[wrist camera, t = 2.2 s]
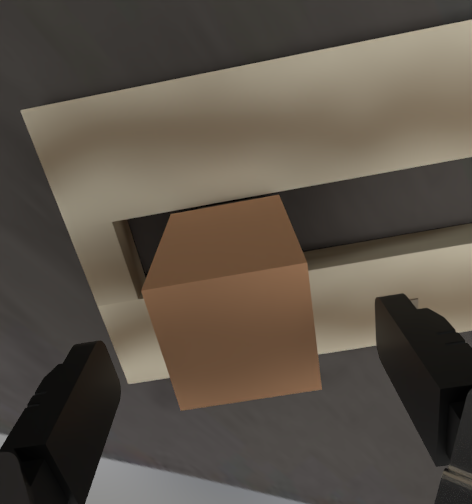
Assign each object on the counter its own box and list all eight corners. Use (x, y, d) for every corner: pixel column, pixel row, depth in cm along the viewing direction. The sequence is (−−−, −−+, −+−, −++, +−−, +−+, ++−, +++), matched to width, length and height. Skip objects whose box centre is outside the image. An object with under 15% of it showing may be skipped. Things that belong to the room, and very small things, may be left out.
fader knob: (178, 194, 18) (141, 290, 10) (271, 177, 18) (307, 262, 10) (199, 276, 20) (180, 410, 12) (283, 261, 20) (321, 389, 12)
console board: (42, 105, 17) (18, 110, 15) (789, -45, 15) (872, -61, 13) (136, 358, 23) (128, 385, 21) (679, 272, 21) (725, 292, 19)
